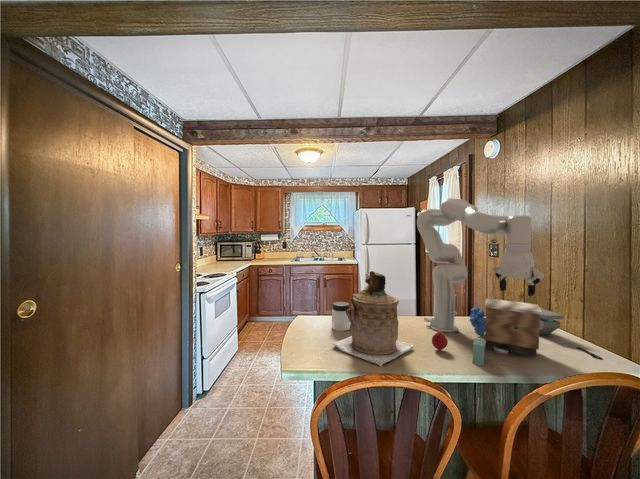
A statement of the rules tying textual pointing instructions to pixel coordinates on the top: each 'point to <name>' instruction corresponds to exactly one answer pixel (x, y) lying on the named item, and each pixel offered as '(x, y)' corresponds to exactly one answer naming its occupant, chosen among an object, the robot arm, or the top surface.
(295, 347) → the top surface
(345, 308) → the jar
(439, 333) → the onion
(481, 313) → the grapes
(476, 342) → the sage green block
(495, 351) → the grey flat rounded lump
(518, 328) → the cabinet
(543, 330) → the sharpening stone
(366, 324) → the cookie jar
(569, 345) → the cleaver
